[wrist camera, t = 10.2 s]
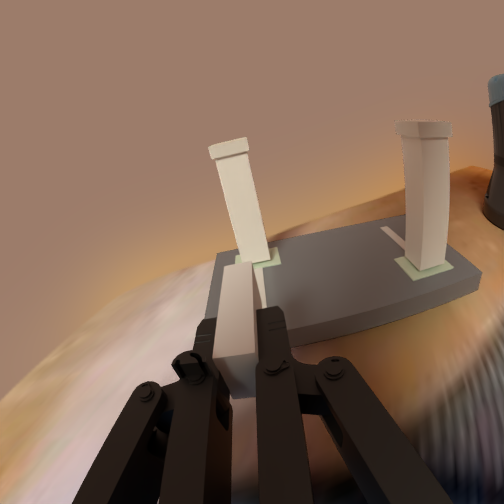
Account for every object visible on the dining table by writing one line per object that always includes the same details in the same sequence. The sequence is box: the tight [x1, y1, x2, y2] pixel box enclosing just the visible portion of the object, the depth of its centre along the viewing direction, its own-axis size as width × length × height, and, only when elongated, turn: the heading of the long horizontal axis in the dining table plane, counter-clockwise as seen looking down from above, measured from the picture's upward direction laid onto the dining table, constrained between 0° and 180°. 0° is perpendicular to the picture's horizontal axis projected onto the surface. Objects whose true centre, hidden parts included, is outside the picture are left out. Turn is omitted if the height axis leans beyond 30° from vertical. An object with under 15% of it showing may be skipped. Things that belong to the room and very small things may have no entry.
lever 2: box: [394, 120, 452, 271], centre depth 19 cm, size 4×4×13 cm
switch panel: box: [204, 214, 482, 348], centre depth 27 cm, size 26×16×2 cm, turn 92°
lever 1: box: [208, 137, 270, 263], centre depth 28 cm, size 4×4×13 cm
